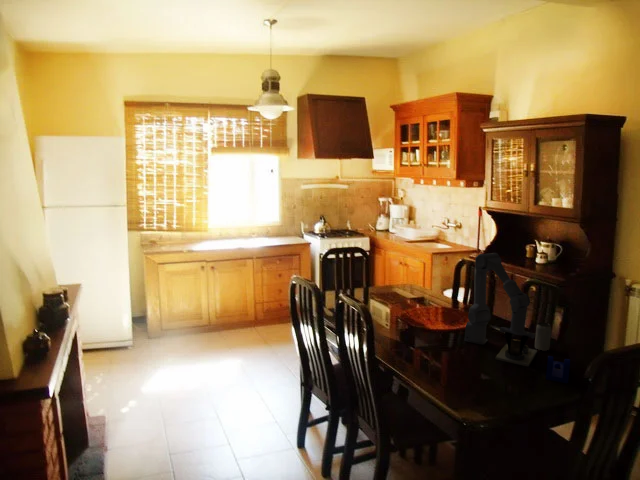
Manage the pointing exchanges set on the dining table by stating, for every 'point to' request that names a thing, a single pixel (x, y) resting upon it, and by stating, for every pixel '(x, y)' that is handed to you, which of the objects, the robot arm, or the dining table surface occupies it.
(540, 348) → the can
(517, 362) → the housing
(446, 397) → the dining table surface
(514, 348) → the tan rounded capsule
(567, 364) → the bracket
